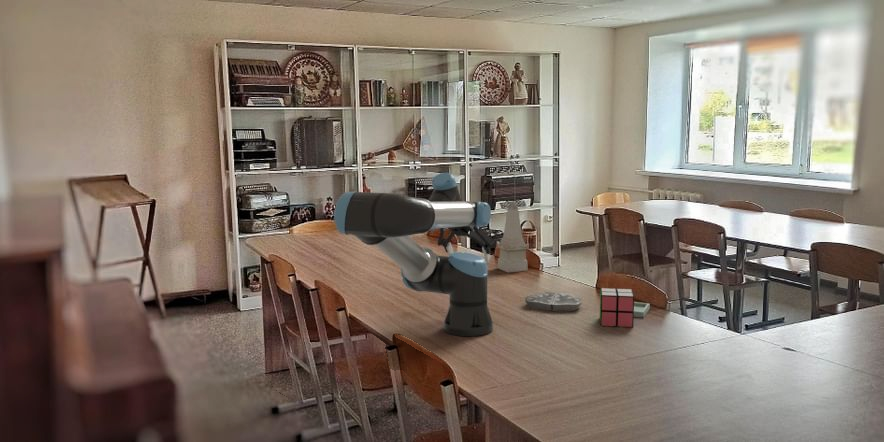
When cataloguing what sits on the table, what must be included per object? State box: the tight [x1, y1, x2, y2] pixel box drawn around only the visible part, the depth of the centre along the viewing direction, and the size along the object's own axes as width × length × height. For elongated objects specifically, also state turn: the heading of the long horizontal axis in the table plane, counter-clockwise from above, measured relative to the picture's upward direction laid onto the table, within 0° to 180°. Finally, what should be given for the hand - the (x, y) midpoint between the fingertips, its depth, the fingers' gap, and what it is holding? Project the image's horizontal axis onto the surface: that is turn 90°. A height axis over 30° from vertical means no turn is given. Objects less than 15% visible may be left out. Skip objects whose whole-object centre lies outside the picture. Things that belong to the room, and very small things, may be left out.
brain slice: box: [524, 291, 583, 312], centre depth 242 cm, size 20×17×3 cm
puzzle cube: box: [599, 287, 635, 328], centre depth 220 cm, size 10×10×10 cm
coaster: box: [633, 301, 651, 319], centre depth 234 cm, size 12×12×2 cm
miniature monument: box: [496, 201, 530, 273], centre depth 301 cm, size 10×10×30 cm
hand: (470, 258), depth 245 cm, fingers open, 13 cm apart
